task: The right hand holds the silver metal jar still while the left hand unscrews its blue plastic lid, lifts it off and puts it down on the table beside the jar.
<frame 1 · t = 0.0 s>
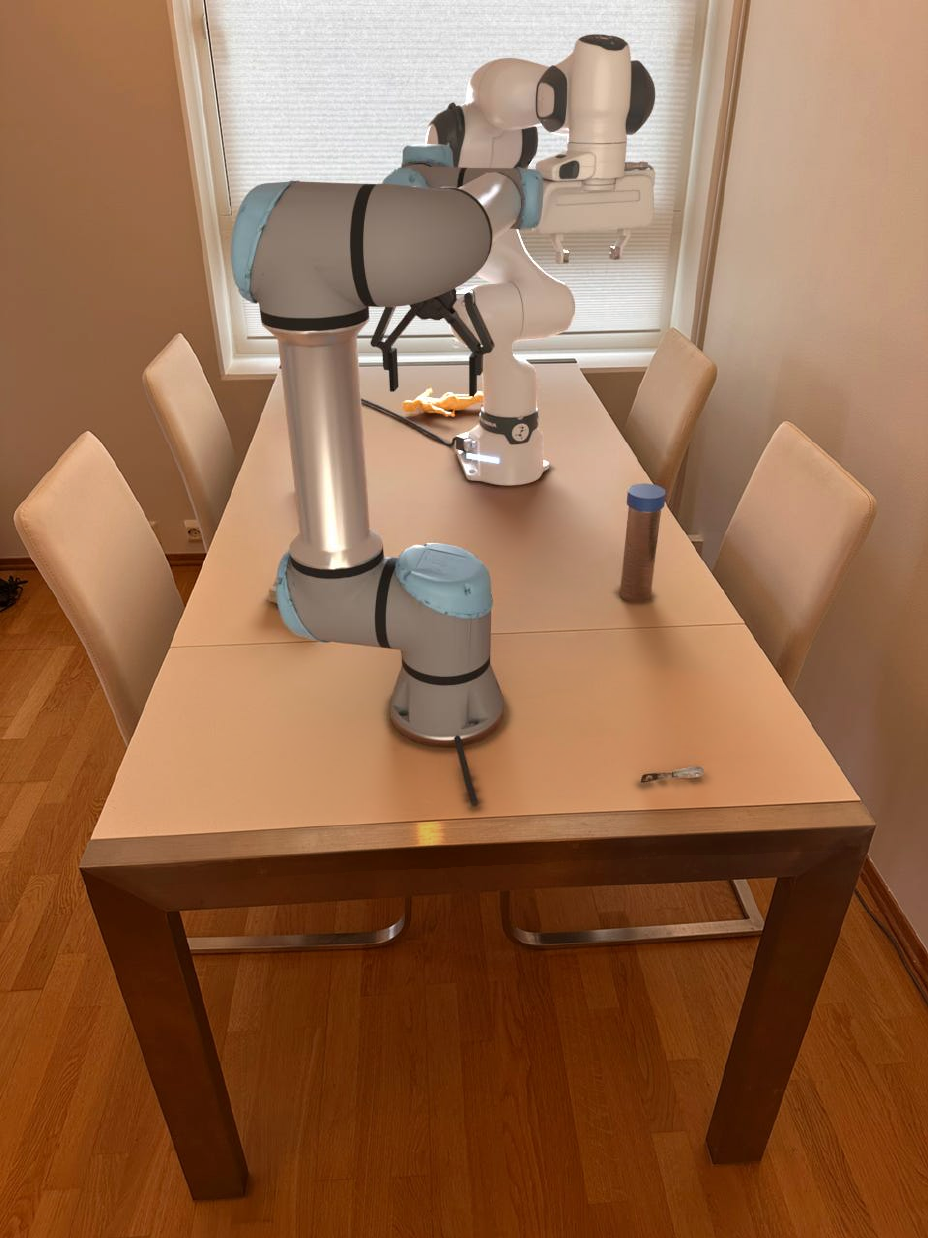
left hand: (433, 391, 149), 28 cm above the table, tool pointing down, fingers open, 13 cm apart
right hand: (589, 261, 141), 48 cm above the table, tool pointing down, fingers open, 8 cm apart
putty knife: (671, 781, 109), on the table
handgun: (337, 495, 182), on the table
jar: (635, 594, 147), on the table
human figure: (450, 410, 226), on the table
stone: (307, 601, 146), on the table
lid: (646, 493, 138), point 18 cm above the table, screwed on, not yet turned
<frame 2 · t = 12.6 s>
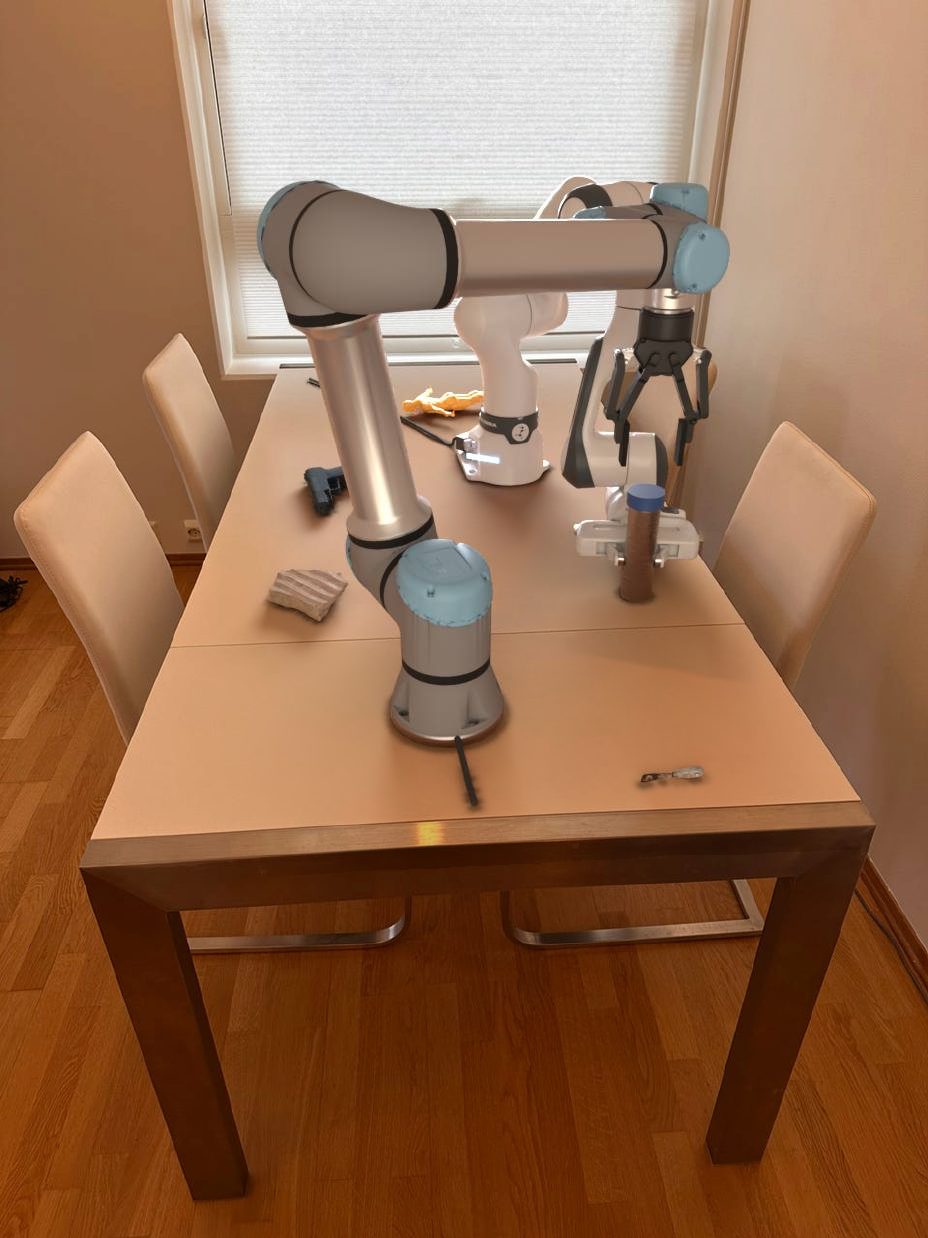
left hand: (650, 462, 135), 23 cm above the table, tool pointing down, fingers open, 8 cm apart
right hand: (639, 563, 143), 6 cm above the table, tool horizontal, fingers closed on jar, 5 cm apart
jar: (635, 594, 147), on the table, touching right hand
everything else where it was.
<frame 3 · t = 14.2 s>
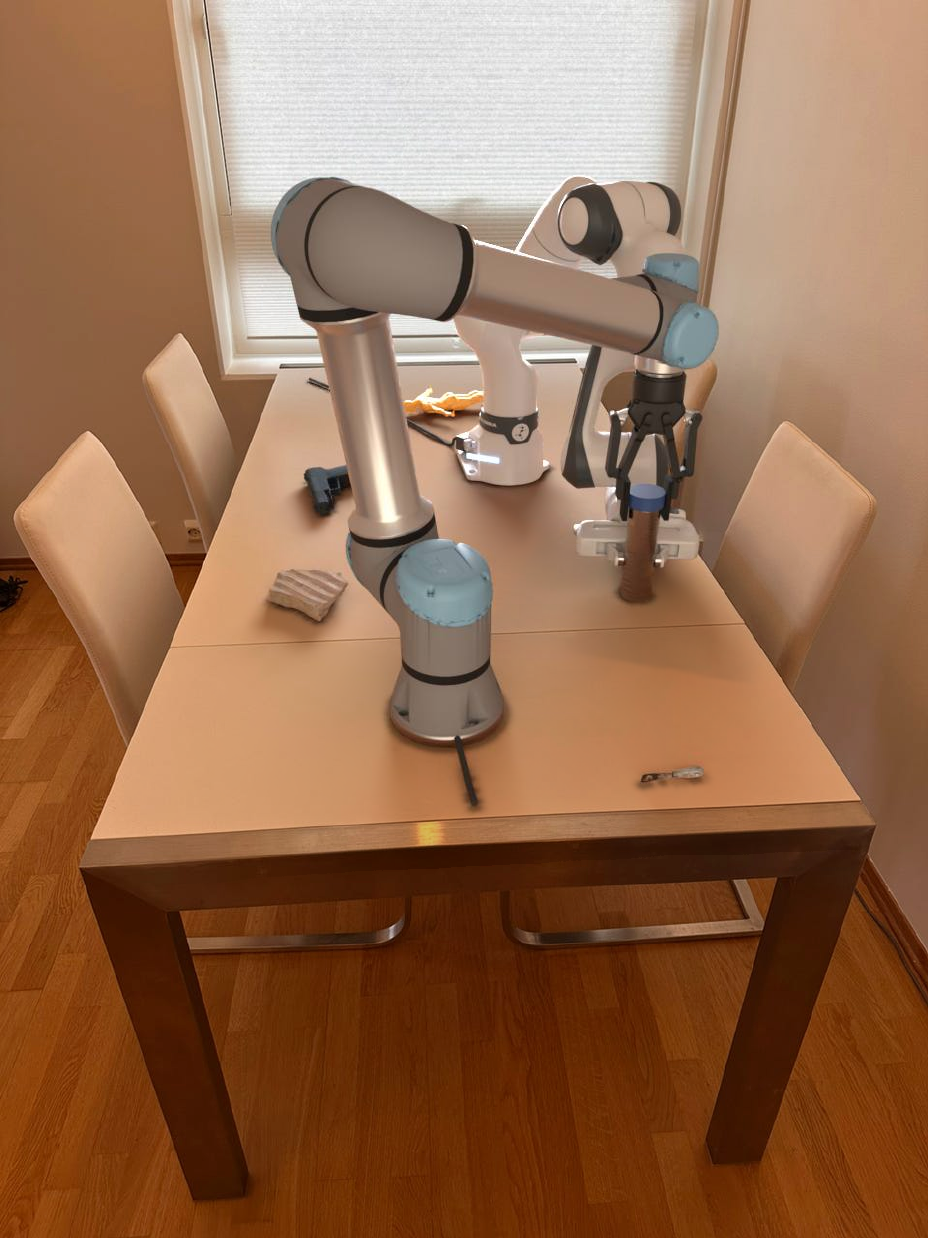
left hand: (643, 516, 140), 14 cm above the table, tool pointing down, fingers closed on lid, 6 cm apart
right hand: (639, 563, 143), 6 cm above the table, tool horizontal, fingers closed on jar, 5 cm apart
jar: (635, 594, 147), on the table, touching right hand
lid: (646, 493, 138), point 18 cm above the table, screwed on, not yet turned, touching left hand
everything else where it was.
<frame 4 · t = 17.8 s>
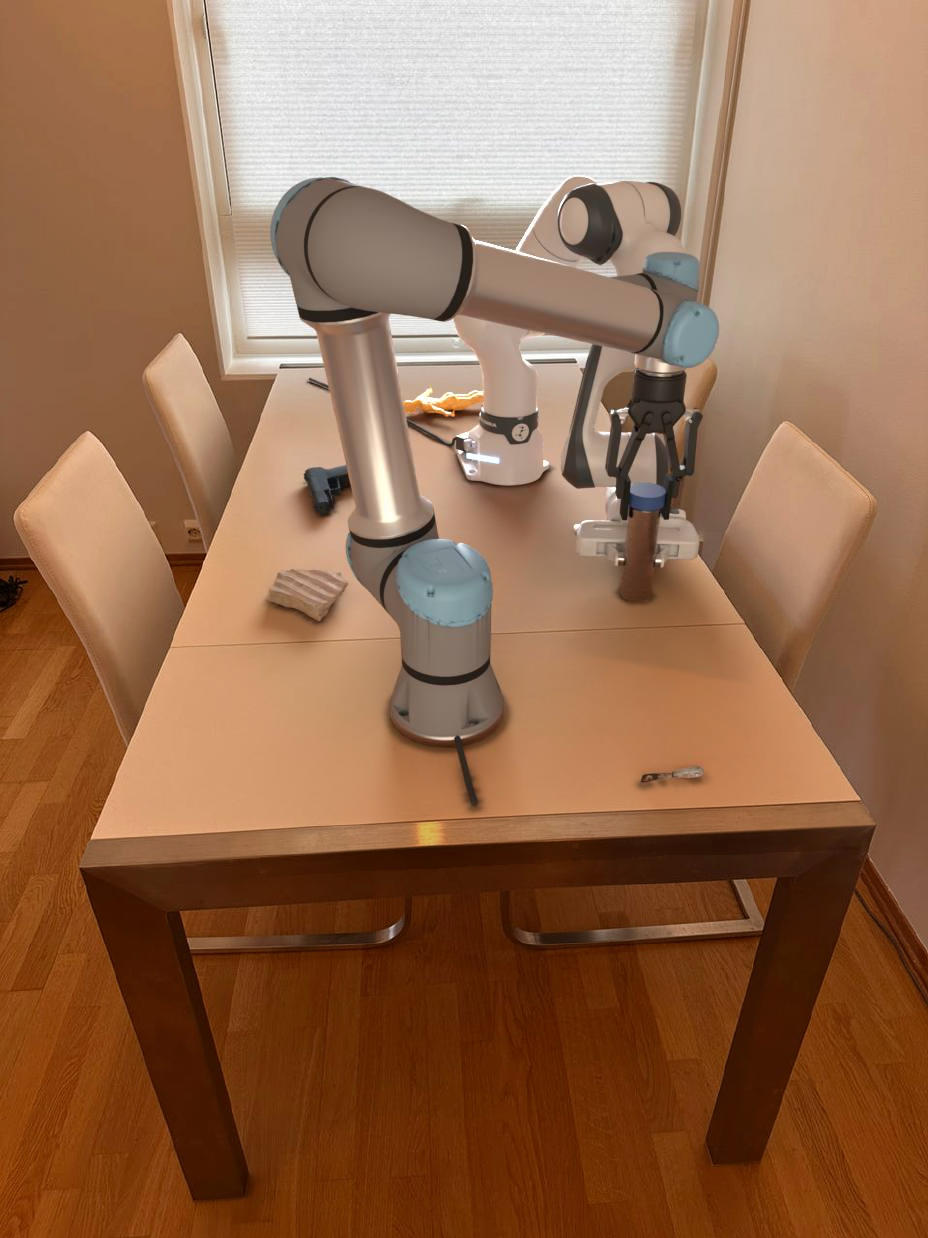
left hand: (644, 516, 140), 14 cm above the table, tool pointing down, fingers closed on lid, 6 cm apart
right hand: (639, 563, 143), 6 cm above the table, tool horizontal, fingers closed on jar, 5 cm apart
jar: (635, 594, 147), on the table, touching right hand
lid: (646, 492, 138), point 18 cm above the table, turned 115° so far, risen 0.2 cm, still on its thread, touching left hand
everything else where it was.
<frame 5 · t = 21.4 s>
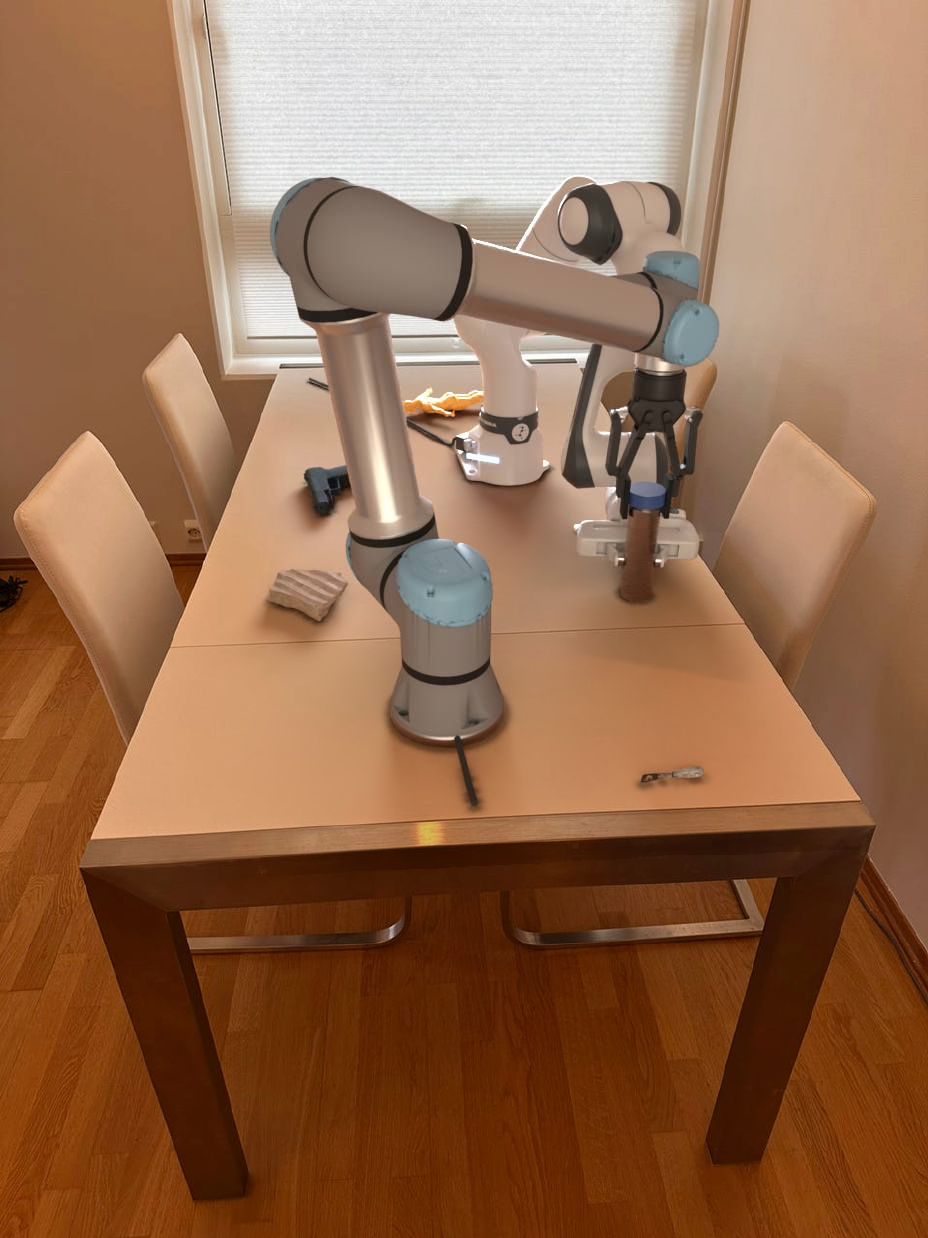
left hand: (644, 515, 140), 14 cm above the table, tool pointing down, fingers closed on lid, 6 cm apart
right hand: (639, 563, 143), 6 cm above the table, tool horizontal, fingers closed on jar, 5 cm apart
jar: (635, 594, 147), on the table, touching right hand
lid: (646, 491, 138), point 19 cm above the table, turned 231° so far, risen 0.3 cm, still on its thread, touching left hand
everything else where it was.
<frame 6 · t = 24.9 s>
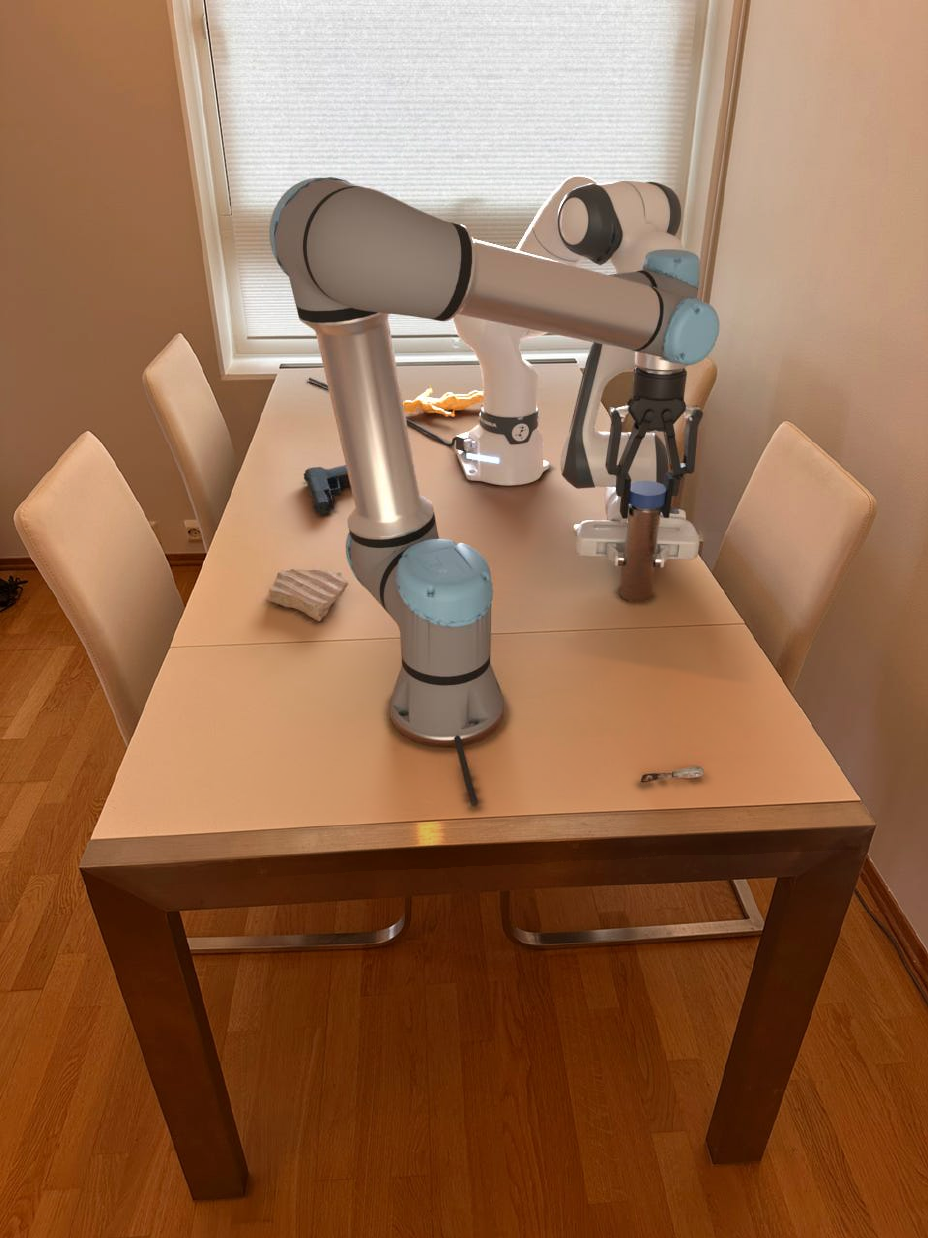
left hand: (644, 514, 140), 15 cm above the table, tool pointing down, fingers closed on lid, 6 cm apart
right hand: (639, 563, 143), 6 cm above the table, tool horizontal, fingers closed on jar, 5 cm apart
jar: (635, 594, 147), on the table, touching right hand
lid: (646, 490, 138), point 19 cm above the table, turned 346° so far, risen 0.5 cm, still on its thread, touching left hand
everything else where it was.
when the left hand's fingers open (0 cm above the table, at t = 32.7 s): lid drops 2 cm, point 2 cm above the table.
when the right hand's fingers open (6 cm above the table, at t = 33.4 s): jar stays where it is, on the table.
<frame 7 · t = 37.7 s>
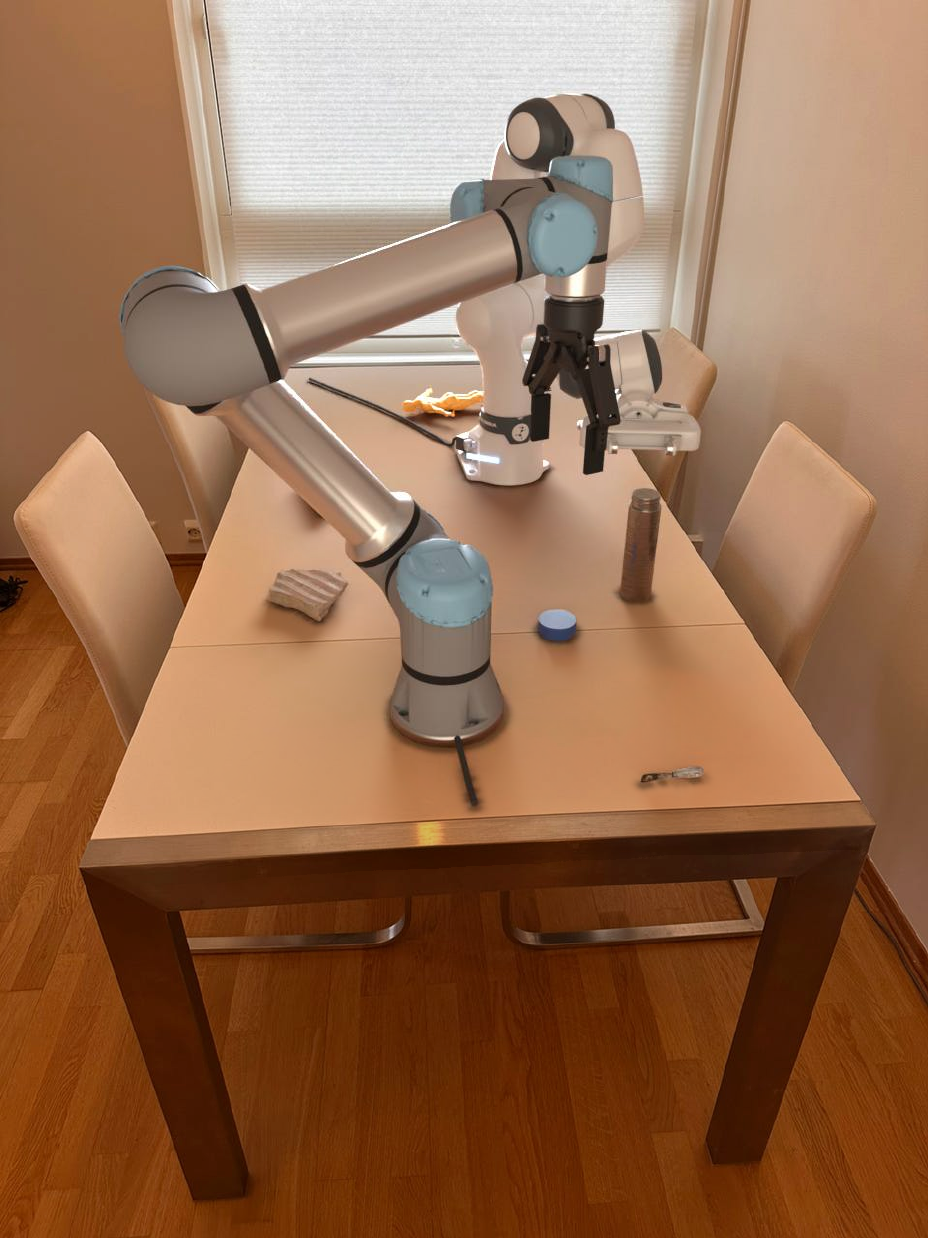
left hand: (565, 455, 123), 29 cm above the table, tool pointing down, fingers open, 13 cm apart
right hand: (642, 450, 146), 21 cm above the table, tool horizontal, fingers open, 8 cm apart
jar: (635, 594, 147), on the table
lid: (557, 620, 137), point 2 cm above the table, off its thread
everything else where it was.
at the end: lid came off its thread; lid point 1.8 cm above the table; the left hand is holding nothing; the right hand is holding nothing; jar tilted 0°; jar moved 0.0 cm from its start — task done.
